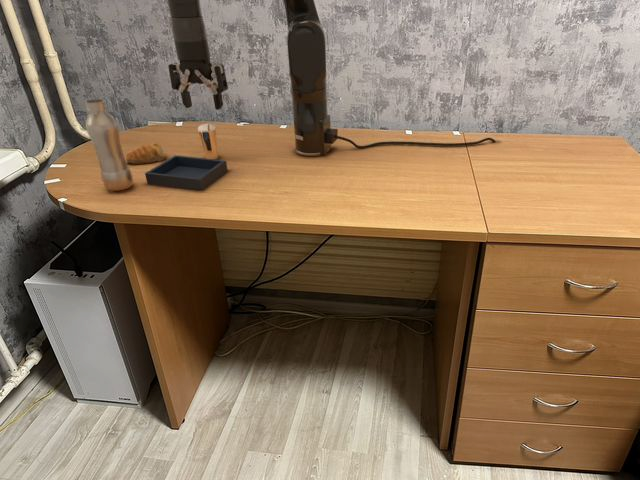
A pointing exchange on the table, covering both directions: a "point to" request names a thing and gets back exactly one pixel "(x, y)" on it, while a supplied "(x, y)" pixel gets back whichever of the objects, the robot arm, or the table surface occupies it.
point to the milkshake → (208, 140)
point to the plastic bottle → (107, 146)
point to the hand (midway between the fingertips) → (203, 108)
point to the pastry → (146, 154)
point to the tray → (187, 172)
